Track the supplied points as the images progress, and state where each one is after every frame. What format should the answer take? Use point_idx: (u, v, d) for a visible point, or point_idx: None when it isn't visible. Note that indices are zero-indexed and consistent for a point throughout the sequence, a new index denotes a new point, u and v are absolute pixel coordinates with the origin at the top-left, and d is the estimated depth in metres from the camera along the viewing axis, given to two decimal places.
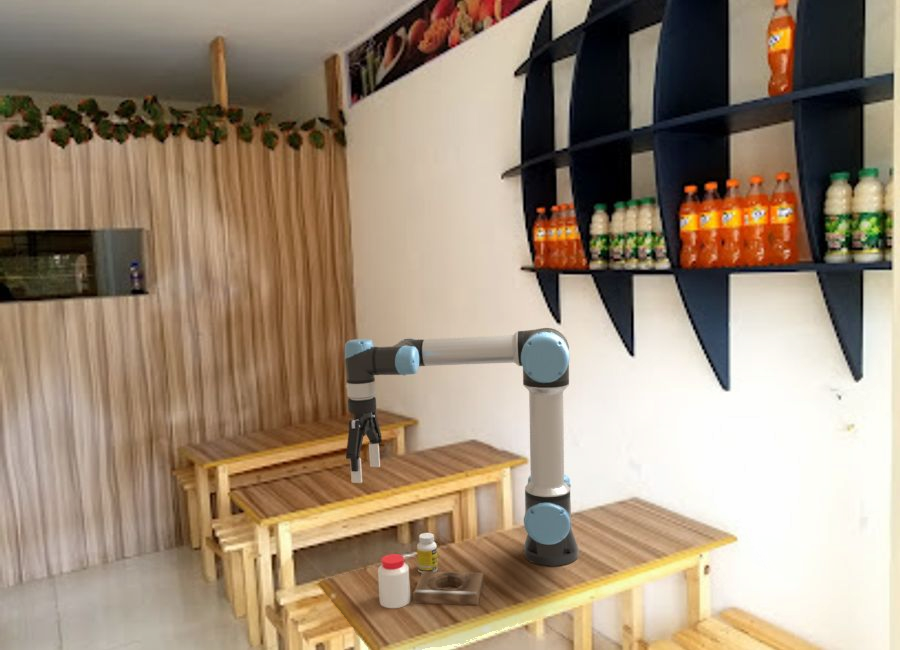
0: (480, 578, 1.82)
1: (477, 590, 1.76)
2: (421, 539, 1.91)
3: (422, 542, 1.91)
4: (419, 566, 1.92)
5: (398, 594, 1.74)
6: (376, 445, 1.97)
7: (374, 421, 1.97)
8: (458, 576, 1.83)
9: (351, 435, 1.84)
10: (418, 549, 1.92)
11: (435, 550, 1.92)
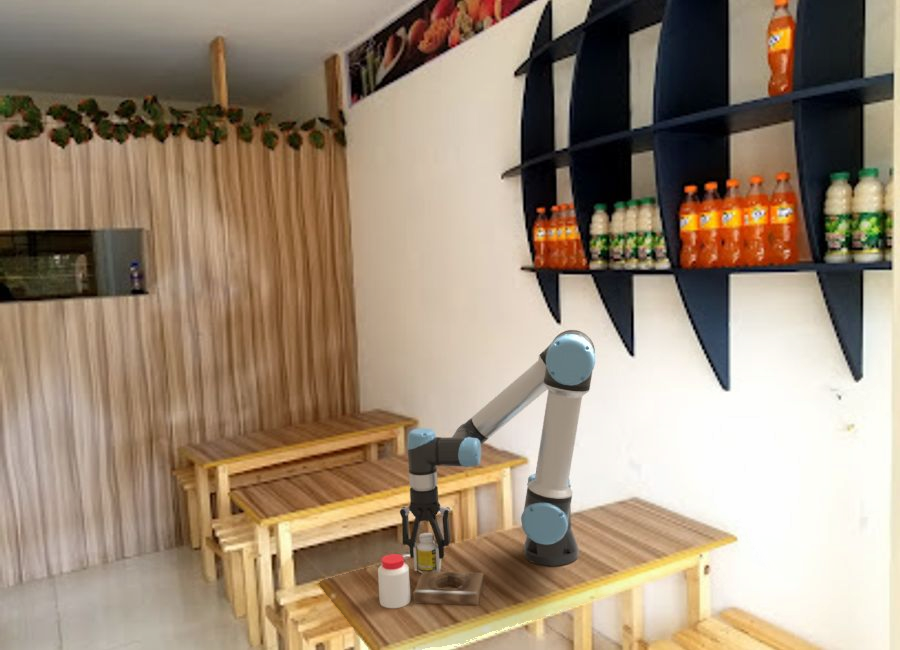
0: (480, 578, 1.82)
1: (477, 590, 1.76)
2: (421, 539, 1.91)
3: (422, 542, 1.91)
4: (419, 566, 1.92)
5: (398, 594, 1.74)
6: None
7: None
8: (458, 576, 1.83)
9: None
10: (418, 549, 1.92)
11: (435, 550, 1.92)
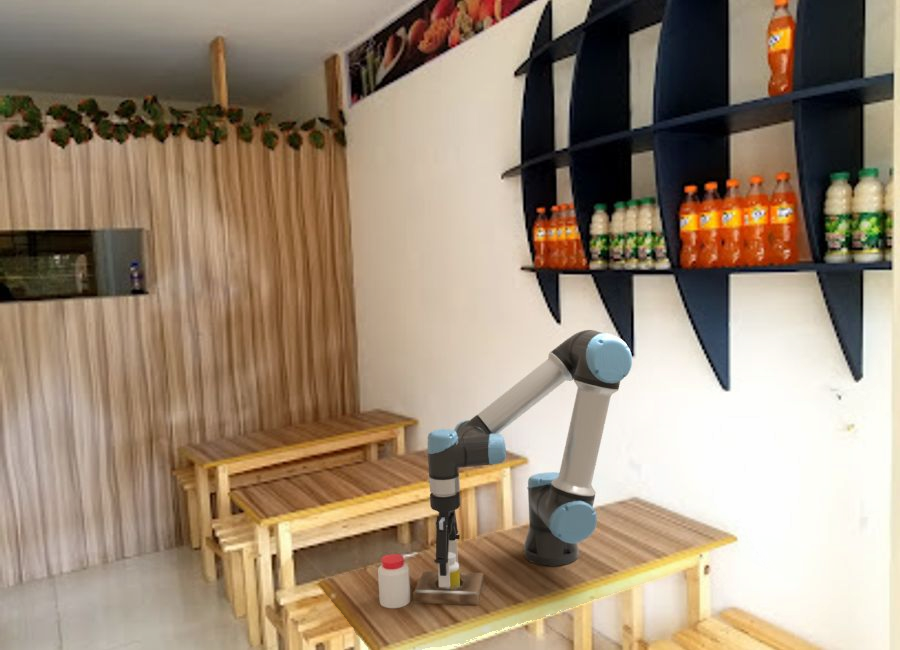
0: (480, 578, 1.82)
1: (477, 590, 1.76)
2: (453, 558, 1.78)
3: (454, 561, 1.79)
4: None
5: (398, 594, 1.74)
6: (454, 542, 1.85)
7: None
8: None
9: (439, 537, 1.71)
10: (454, 571, 1.78)
11: None
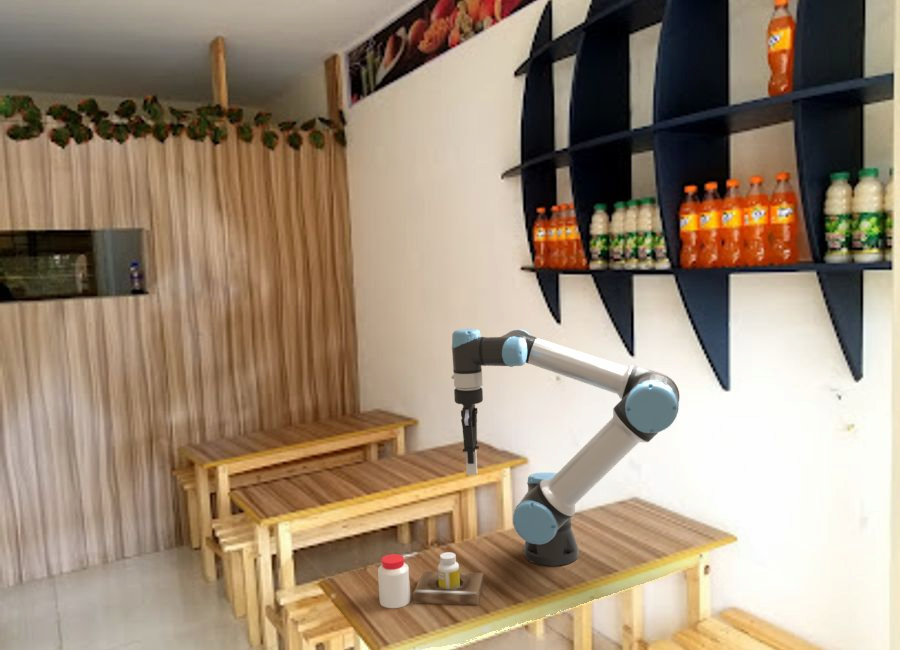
0: (480, 578, 1.82)
1: (477, 590, 1.76)
2: (453, 558, 1.78)
3: (454, 561, 1.79)
4: None
5: (398, 594, 1.74)
6: None
7: None
8: None
9: (465, 431, 1.85)
10: (454, 571, 1.78)
11: None
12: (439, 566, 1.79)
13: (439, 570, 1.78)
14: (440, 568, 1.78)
